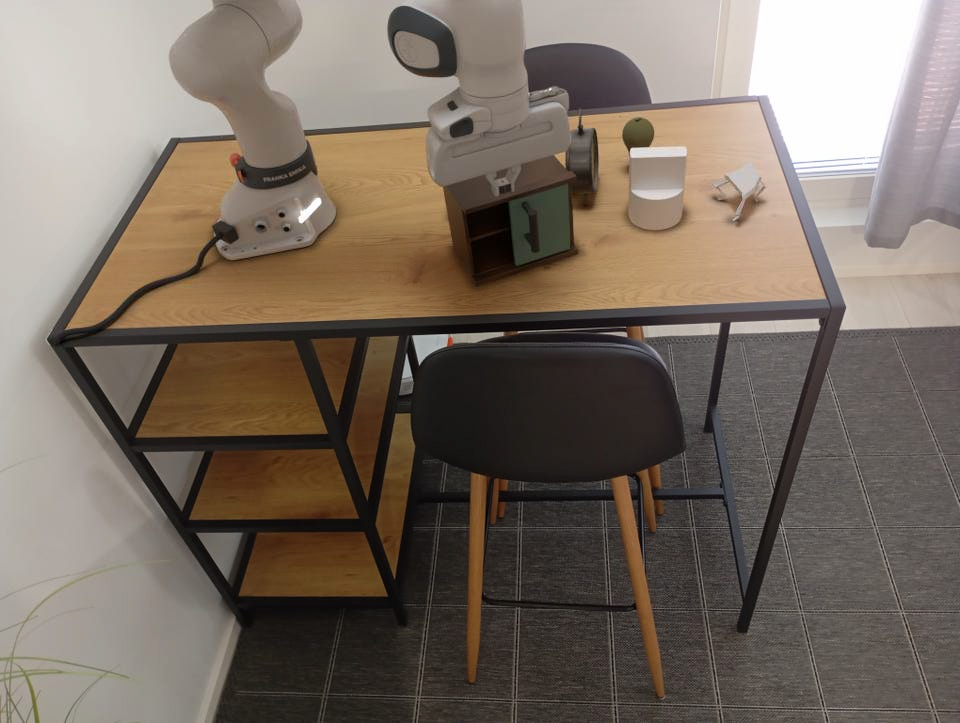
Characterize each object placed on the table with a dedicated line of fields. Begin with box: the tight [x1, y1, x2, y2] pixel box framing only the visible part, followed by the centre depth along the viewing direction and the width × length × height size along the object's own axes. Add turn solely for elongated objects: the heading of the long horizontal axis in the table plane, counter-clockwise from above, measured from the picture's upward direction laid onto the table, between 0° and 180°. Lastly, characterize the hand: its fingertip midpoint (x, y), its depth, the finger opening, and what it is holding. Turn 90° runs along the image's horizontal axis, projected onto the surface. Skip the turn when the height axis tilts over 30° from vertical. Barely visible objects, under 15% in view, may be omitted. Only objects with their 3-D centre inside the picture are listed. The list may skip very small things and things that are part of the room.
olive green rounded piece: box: [621, 116, 655, 157], centre depth 142 cm, size 6×6×10 cm
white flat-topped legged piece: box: [712, 161, 767, 222], centre depth 132 cm, size 12×8×5 cm
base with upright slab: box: [627, 145, 688, 231], centre depth 131 cm, size 9×9×12 cm
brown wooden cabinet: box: [442, 155, 579, 287], centre depth 127 cm, size 18×12×15 cm, turn 110°
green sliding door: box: [508, 184, 570, 266], centre depth 123 cm, size 10×5×12 cm, turn 110°
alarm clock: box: [564, 107, 600, 208], centre depth 136 cm, size 11×5×16 cm, turn 168°
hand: (503, 192), depth 113 cm, fingers closed
